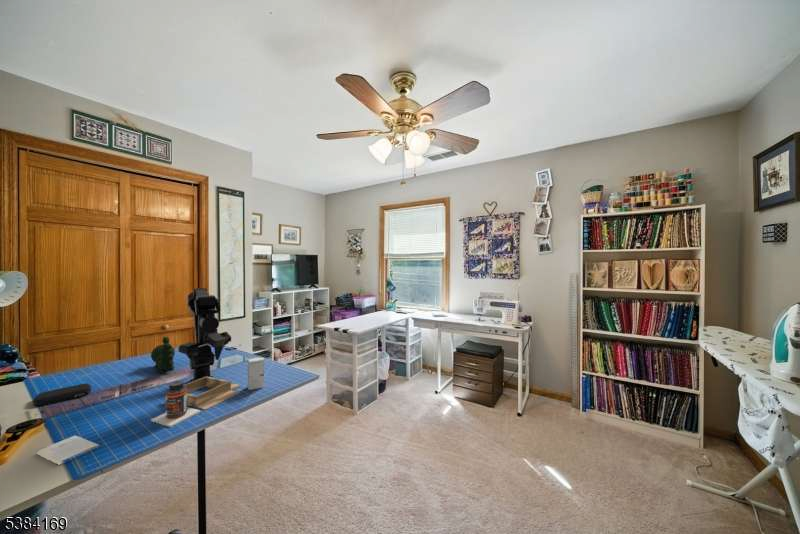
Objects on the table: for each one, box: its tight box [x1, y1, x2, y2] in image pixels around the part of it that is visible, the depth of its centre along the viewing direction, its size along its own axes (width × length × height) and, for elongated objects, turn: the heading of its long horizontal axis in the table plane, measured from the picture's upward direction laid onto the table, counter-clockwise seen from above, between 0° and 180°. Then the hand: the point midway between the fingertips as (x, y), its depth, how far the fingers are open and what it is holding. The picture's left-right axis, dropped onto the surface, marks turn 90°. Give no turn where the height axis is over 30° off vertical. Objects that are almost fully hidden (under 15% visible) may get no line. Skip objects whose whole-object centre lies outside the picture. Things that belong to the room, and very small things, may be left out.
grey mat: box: [150, 406, 201, 428], centre depth 102 cm, size 10×10×1 cm
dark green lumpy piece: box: [150, 336, 176, 374], centre depth 145 cm, size 9×19×25 cm
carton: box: [183, 376, 242, 411], centre depth 119 cm, size 20×20×4 cm
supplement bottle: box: [165, 380, 188, 419], centre depth 102 cm, size 6×6×11 cm
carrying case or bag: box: [33, 383, 92, 406], centre depth 115 cm, size 11×3×15 cm
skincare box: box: [247, 356, 265, 391], centre depth 126 cm, size 6×4×12 cm
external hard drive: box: [47, 435, 100, 462], centre depth 84 cm, size 2×8×12 cm
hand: (206, 363), depth 121 cm, fingers open, 9 cm apart
